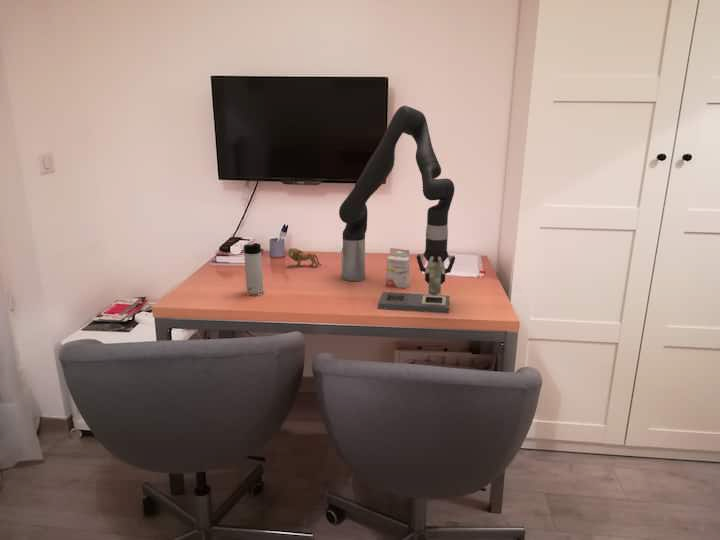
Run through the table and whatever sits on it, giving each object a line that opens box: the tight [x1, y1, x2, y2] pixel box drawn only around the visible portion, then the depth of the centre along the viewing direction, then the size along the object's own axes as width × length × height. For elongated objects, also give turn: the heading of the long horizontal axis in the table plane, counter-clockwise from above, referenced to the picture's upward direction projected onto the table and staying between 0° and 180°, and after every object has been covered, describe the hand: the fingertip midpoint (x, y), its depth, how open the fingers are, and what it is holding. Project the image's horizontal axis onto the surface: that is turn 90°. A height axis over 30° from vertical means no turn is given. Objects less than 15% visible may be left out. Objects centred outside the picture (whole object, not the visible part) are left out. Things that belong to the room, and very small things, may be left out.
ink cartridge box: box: [385, 247, 411, 289], centre depth 212 cm, size 9×5×15 cm, turn 71°
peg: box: [427, 262, 442, 295], centre depth 189 cm, size 4×4×12 cm
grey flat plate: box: [377, 291, 451, 314], centre depth 194 cm, size 25×12×2 cm, turn 80°
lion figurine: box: [287, 247, 322, 269], centre depth 237 cm, size 15×5×9 cm, turn 98°
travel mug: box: [243, 243, 264, 296], centre depth 202 cm, size 6×7×20 cm
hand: (434, 282), depth 190 cm, fingers closed on peg, 4 cm apart
